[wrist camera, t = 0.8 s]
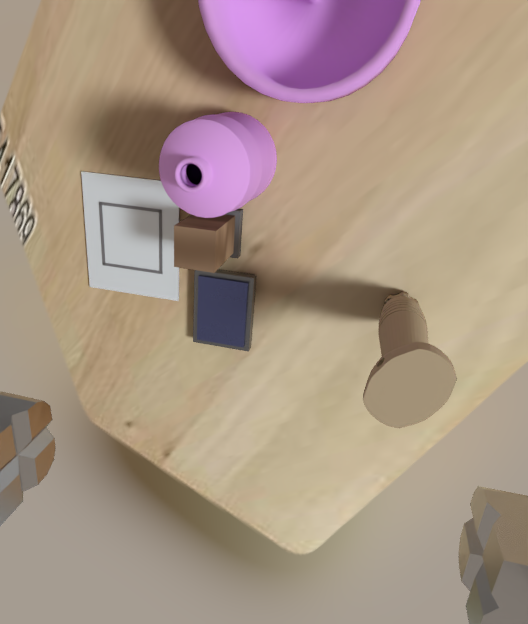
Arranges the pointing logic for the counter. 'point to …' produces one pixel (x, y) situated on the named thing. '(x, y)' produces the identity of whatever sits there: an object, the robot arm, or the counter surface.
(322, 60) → the container set
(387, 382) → the handle
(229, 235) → the stamp
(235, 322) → the ink tin
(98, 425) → the counter surface
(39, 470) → the robot arm
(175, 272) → the card
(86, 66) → the counter surface
